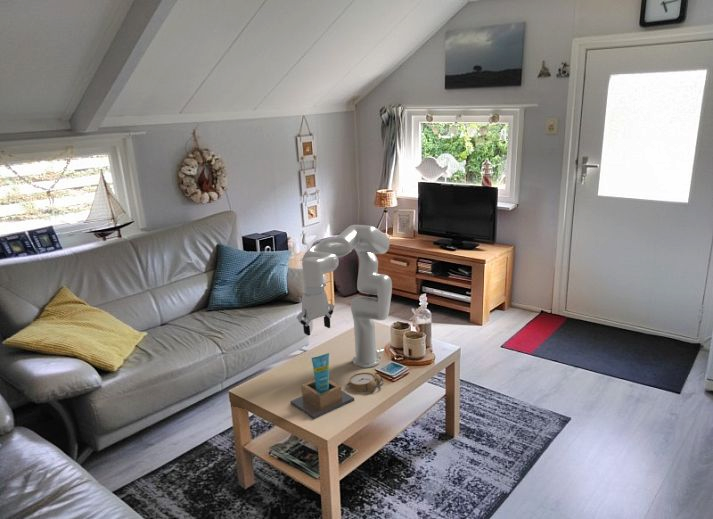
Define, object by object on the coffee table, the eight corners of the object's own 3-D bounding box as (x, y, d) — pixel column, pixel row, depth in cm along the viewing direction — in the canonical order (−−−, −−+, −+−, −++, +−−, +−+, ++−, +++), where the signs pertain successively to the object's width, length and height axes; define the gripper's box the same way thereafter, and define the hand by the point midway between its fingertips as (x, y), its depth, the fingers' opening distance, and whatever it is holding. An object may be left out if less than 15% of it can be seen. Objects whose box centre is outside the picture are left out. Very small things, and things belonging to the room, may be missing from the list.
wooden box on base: (330, 386, 234) (329, 371, 232) (354, 400, 222) (353, 384, 220) (290, 403, 222) (289, 387, 220) (313, 419, 210) (312, 402, 208)
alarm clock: (354, 371, 241) (386, 370, 234) (357, 381, 242) (388, 381, 235) (344, 383, 231) (376, 383, 224) (346, 394, 232) (379, 394, 225)
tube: (318, 404, 219) (314, 359, 213) (312, 399, 223) (308, 355, 217) (334, 398, 222) (331, 354, 217) (328, 393, 226) (325, 350, 221)
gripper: (326, 281, 219) (329, 321, 224) (289, 292, 208) (293, 334, 213) (338, 285, 213) (340, 326, 218) (301, 297, 203) (304, 340, 208)
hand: (317, 330), depth 216 cm, fingers open, 9 cm apart
